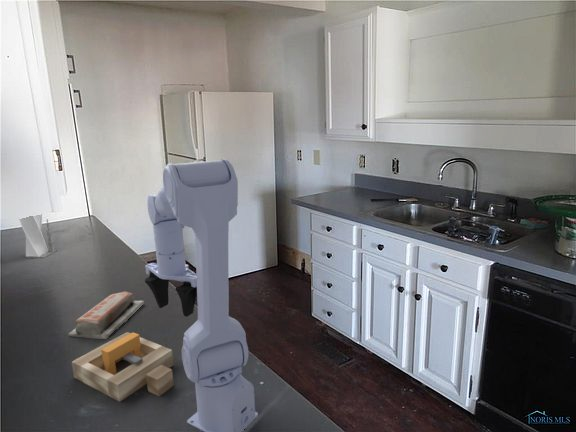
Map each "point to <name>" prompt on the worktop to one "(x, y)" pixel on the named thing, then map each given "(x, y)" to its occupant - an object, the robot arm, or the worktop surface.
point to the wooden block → (120, 351)
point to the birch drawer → (129, 378)
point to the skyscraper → (36, 237)
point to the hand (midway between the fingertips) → (175, 310)
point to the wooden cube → (159, 380)
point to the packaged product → (106, 316)
